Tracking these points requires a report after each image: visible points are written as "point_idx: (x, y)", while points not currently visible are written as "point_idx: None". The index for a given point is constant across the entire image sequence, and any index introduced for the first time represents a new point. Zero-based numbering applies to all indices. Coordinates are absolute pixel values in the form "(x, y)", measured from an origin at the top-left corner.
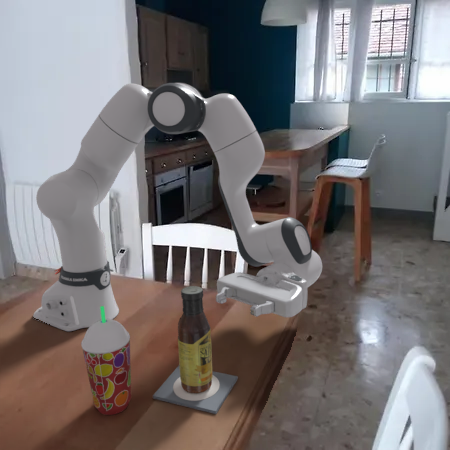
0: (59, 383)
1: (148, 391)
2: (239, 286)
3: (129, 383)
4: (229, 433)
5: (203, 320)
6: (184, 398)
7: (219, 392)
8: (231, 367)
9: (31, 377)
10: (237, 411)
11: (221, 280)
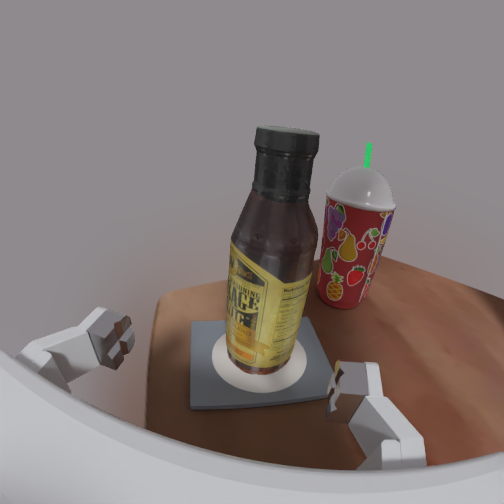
0: (425, 297)
1: (326, 328)
2: (304, 477)
3: (325, 268)
4: (160, 305)
5: (244, 206)
6: None
7: (205, 354)
8: (226, 443)
9: (451, 292)
10: (160, 337)
11: (493, 461)
